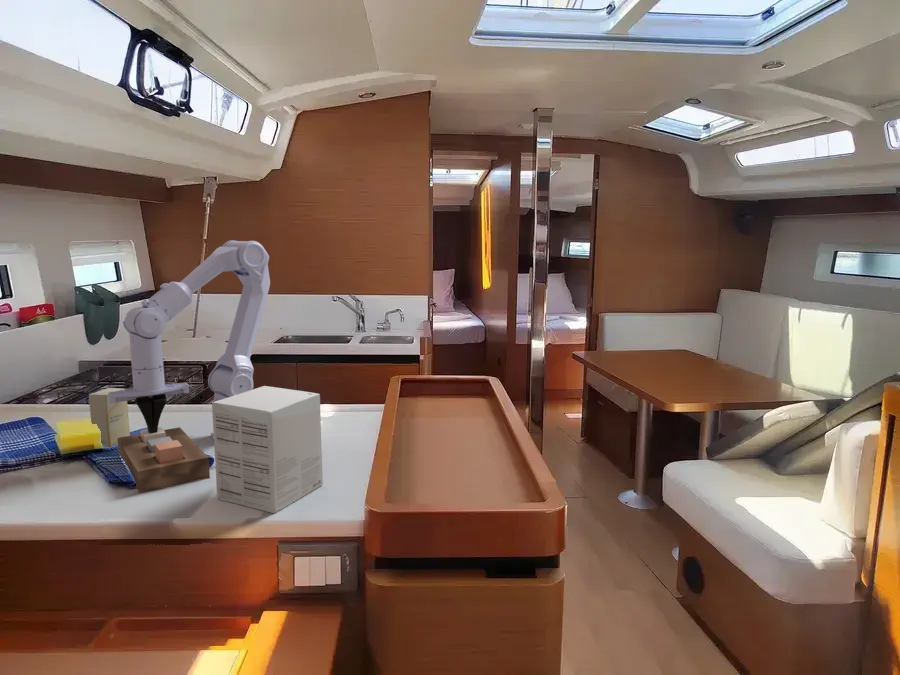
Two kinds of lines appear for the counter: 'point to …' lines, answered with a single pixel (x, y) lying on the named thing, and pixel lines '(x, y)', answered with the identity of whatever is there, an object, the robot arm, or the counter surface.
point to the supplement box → (267, 447)
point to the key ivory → (152, 435)
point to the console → (167, 473)
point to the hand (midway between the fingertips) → (152, 431)
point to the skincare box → (109, 416)
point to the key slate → (155, 441)
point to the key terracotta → (168, 452)
